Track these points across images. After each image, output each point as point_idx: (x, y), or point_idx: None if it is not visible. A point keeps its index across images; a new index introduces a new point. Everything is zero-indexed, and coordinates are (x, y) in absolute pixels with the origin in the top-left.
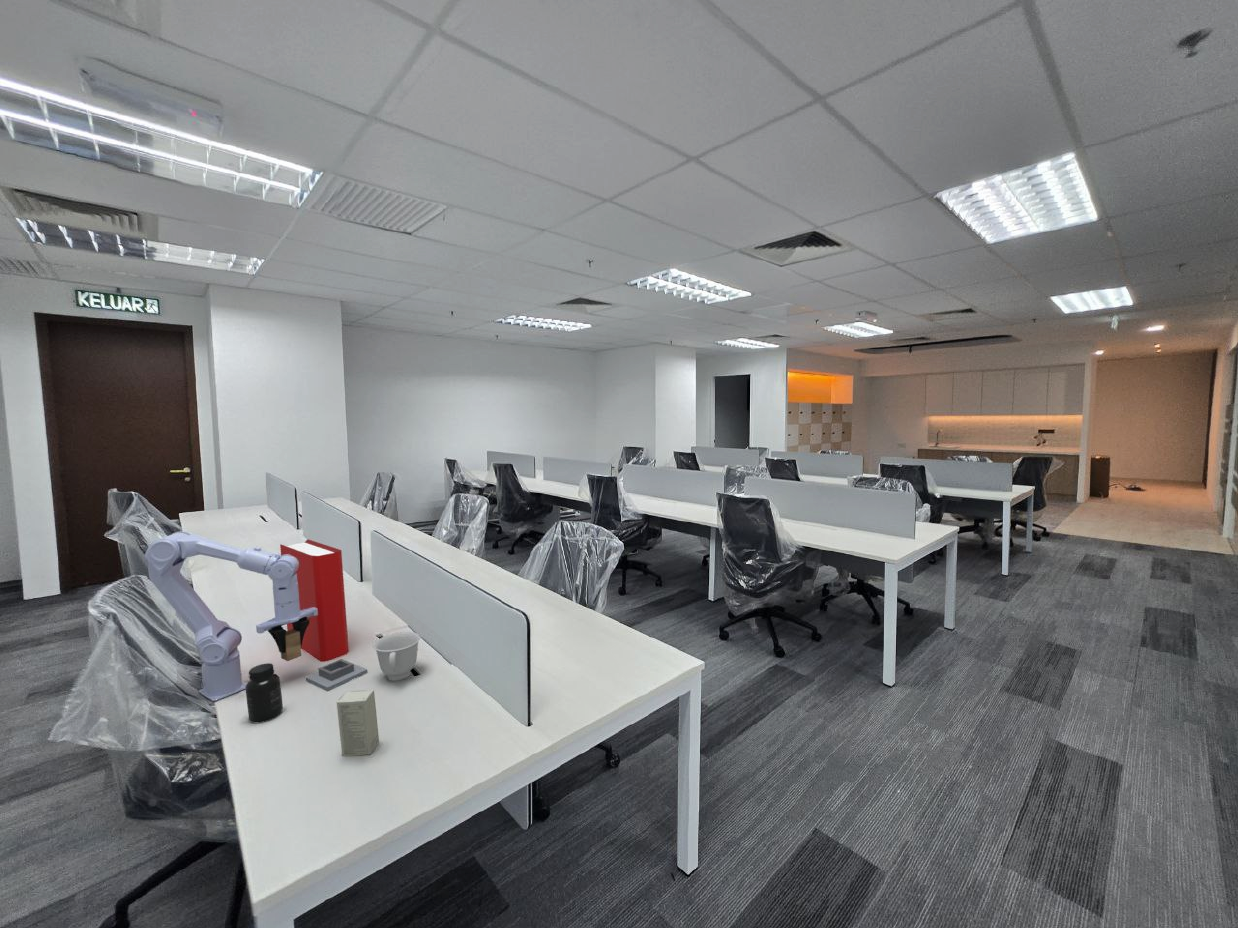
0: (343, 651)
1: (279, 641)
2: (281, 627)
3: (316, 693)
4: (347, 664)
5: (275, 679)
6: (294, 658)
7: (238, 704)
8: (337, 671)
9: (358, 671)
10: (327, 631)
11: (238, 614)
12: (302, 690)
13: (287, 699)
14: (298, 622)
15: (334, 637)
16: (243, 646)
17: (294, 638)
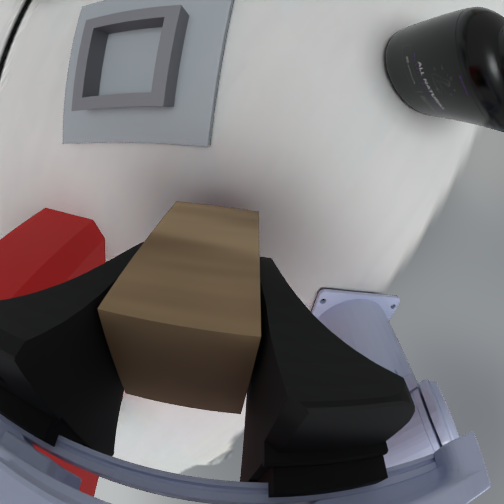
0: (42, 214)
1: (315, 322)
2: (278, 464)
3: (264, 14)
4: (92, 41)
5: (491, 11)
6: (217, 207)
7: (402, 220)
8: (152, 8)
9: (101, 10)
10: (15, 280)
11: (152, 463)
12: (270, 81)
13: (338, 79)
14: (53, 407)
15: (21, 251)
16: (189, 429)
17: (174, 279)
